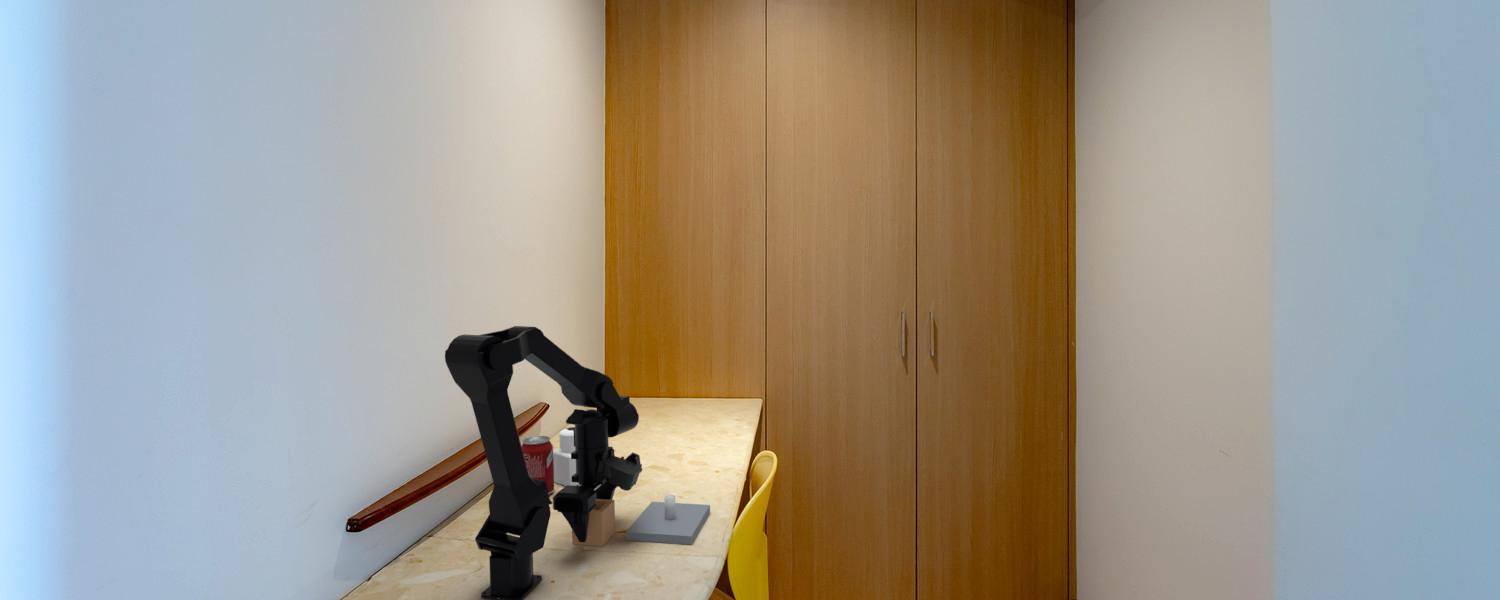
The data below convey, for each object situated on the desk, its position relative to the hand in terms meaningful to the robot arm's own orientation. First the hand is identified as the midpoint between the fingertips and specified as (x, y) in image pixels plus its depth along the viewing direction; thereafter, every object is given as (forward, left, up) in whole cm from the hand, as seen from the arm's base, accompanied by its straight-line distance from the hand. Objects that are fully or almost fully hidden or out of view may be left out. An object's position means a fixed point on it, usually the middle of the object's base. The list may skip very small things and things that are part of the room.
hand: (593, 530), depth 106 cm
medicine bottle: (+27, +17, -2) cm, 32 cm away
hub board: (+7, -12, -1) cm, 14 cm away
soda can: (+18, +21, -2) cm, 28 cm away
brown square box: (0, 0, -1) cm, 1 cm away
